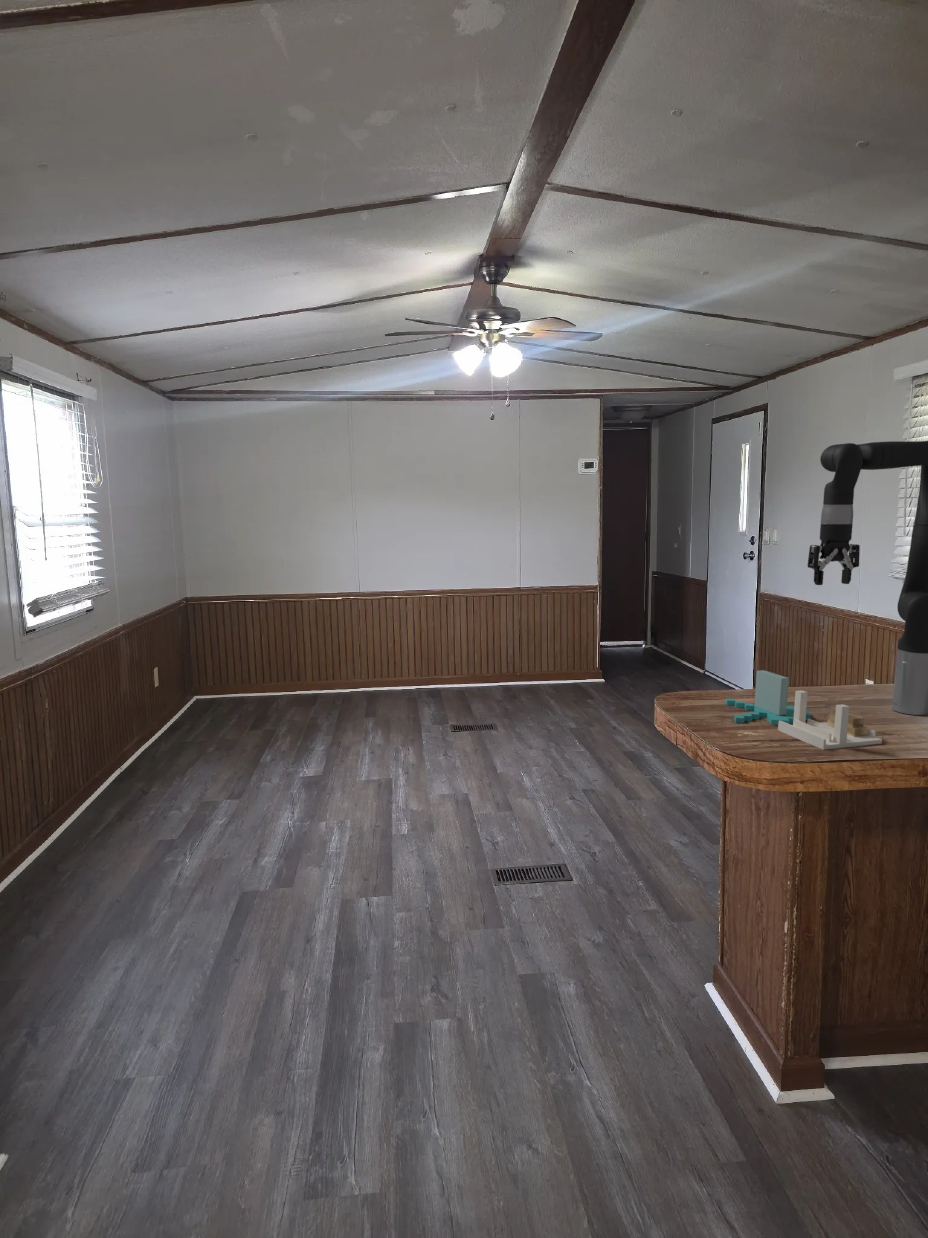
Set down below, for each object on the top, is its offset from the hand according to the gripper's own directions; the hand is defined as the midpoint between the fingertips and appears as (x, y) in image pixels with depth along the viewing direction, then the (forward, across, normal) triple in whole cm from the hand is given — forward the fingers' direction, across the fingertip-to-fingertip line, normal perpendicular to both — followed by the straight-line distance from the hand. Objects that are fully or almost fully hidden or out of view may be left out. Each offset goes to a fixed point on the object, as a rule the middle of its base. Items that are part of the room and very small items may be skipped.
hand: (831, 584), depth 203 cm
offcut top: (+33, +6, +14) cm, 37 cm away
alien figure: (+37, +12, -6) cm, 40 cm away
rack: (+36, +11, +15) cm, 41 cm away
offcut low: (+35, +6, +15) cm, 39 cm away
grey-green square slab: (+35, +12, -6) cm, 37 cm away
